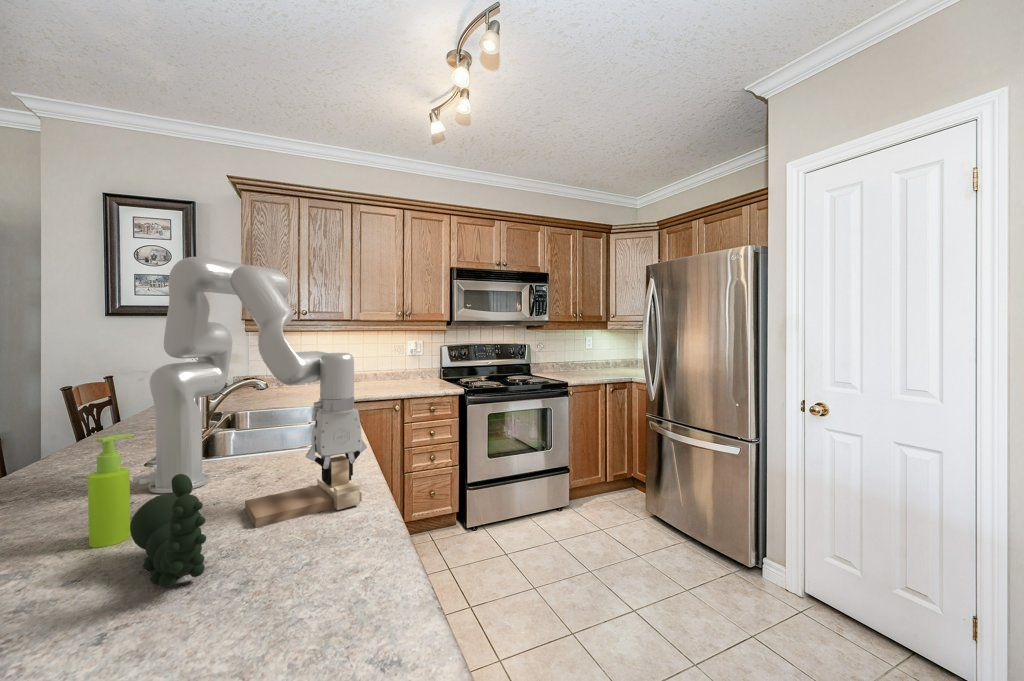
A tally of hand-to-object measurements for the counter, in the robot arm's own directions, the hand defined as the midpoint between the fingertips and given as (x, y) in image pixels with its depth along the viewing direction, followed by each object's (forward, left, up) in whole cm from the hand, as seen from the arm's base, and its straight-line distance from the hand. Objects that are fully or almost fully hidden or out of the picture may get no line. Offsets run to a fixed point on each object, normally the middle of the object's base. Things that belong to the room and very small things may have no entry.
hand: (337, 480), depth 105 cm
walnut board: (-7, +1, -5) cm, 9 cm away
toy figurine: (-32, -13, -5) cm, 35 cm away
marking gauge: (0, 0, -4) cm, 4 cm away
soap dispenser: (-40, +7, -5) cm, 41 cm away
